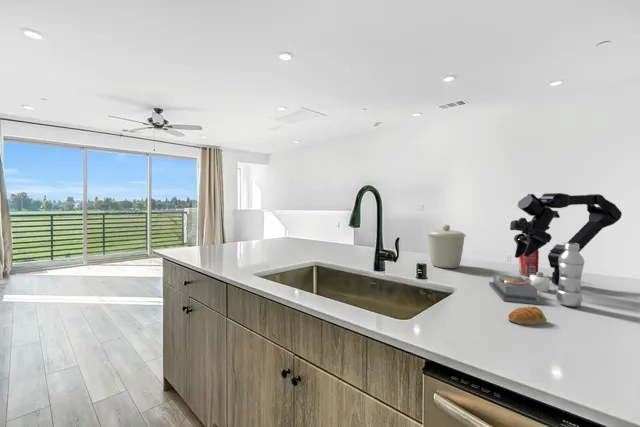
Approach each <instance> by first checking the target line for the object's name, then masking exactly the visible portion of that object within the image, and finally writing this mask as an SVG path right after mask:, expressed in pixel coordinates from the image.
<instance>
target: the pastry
mask: <svg viewBox="0 0 640 427" xmlns="http://www.w3.org/2000/svg"><path fill="white" fill-rule="evenodd" d="M507 316H508V321H511V322H513V323H515V324H518V325H521V326H524V324H525V326H534V325H535V326H536V324H538V325H544V324H545V323H547V321H548V319H547V317H546V316H545V314H544V312H543V311H542V309H540V308H539V307H537V306H530V305H528V306H527V307H526V306H523V307H521V306H520V307H517V308H515V309H514V310H513V311H511V312H510V313H508V315H507ZM543 323H544V324H543Z"/></svg>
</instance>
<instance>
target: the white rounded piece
mask: <svg viewBox="0 0 640 427" xmlns="http://www.w3.org/2000/svg"><path fill="white" fill-rule="evenodd" d="M529 279H530V280H532V281H531V285H532V286H534V287H535V288H536V289H537V292H538V291H539V292H540V293H549V292H550V276H546V275H544V273H543V272H540V271H538V272H536V275H530V276H529ZM539 292H538V293H539Z"/></svg>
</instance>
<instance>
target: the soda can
mask: <svg viewBox="0 0 640 427" xmlns="http://www.w3.org/2000/svg"><path fill="white" fill-rule="evenodd" d="M539 252H540V250H539V249H538V250H536V251H535V252H533V253H532V254H530V255H529V256H528V257H526V256H524V254H522V255H521V256H520V257H518V273H519V275H521V276H523V275H525V276H524V277H530V275H536V272H539V260H540V259H539V258H540V256H539Z"/></svg>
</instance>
